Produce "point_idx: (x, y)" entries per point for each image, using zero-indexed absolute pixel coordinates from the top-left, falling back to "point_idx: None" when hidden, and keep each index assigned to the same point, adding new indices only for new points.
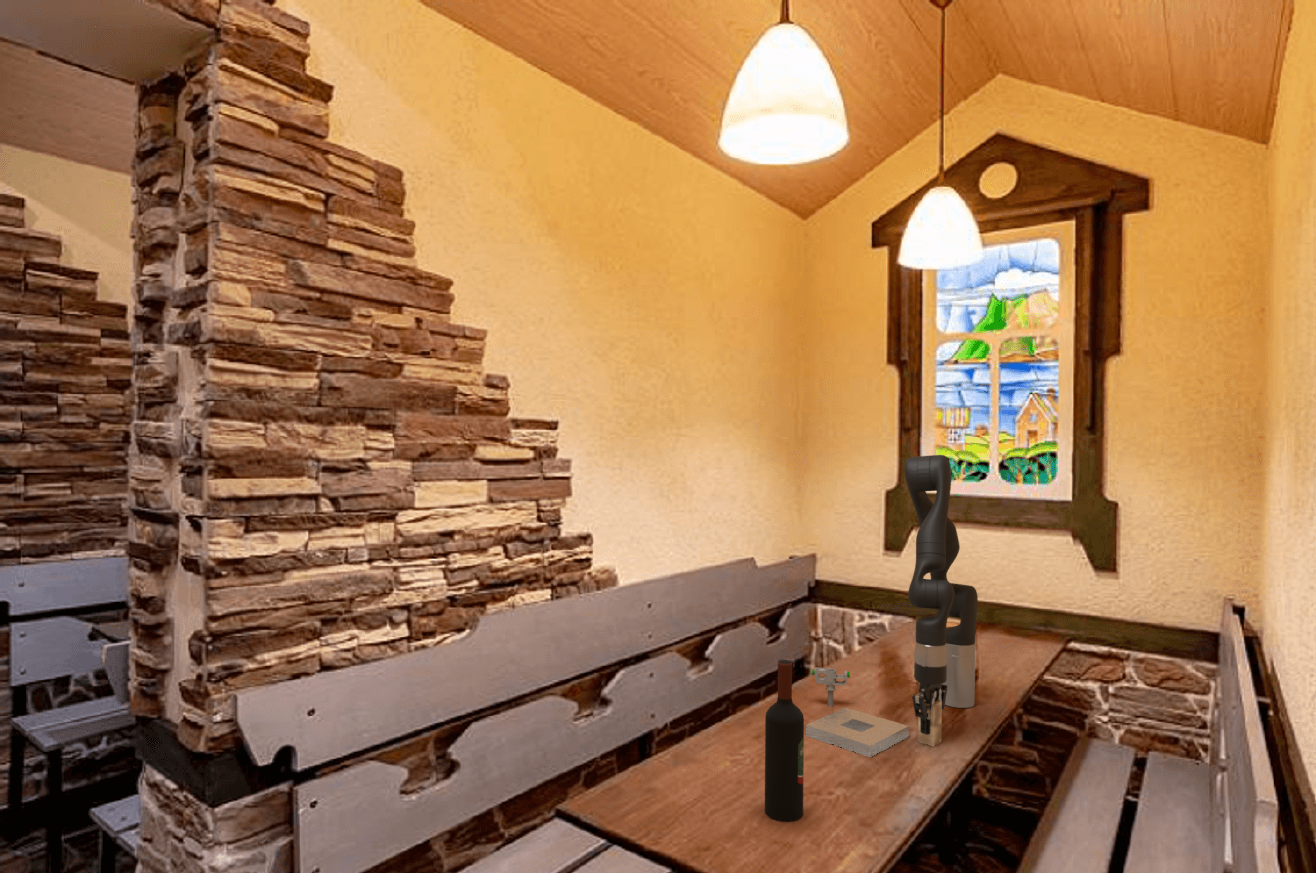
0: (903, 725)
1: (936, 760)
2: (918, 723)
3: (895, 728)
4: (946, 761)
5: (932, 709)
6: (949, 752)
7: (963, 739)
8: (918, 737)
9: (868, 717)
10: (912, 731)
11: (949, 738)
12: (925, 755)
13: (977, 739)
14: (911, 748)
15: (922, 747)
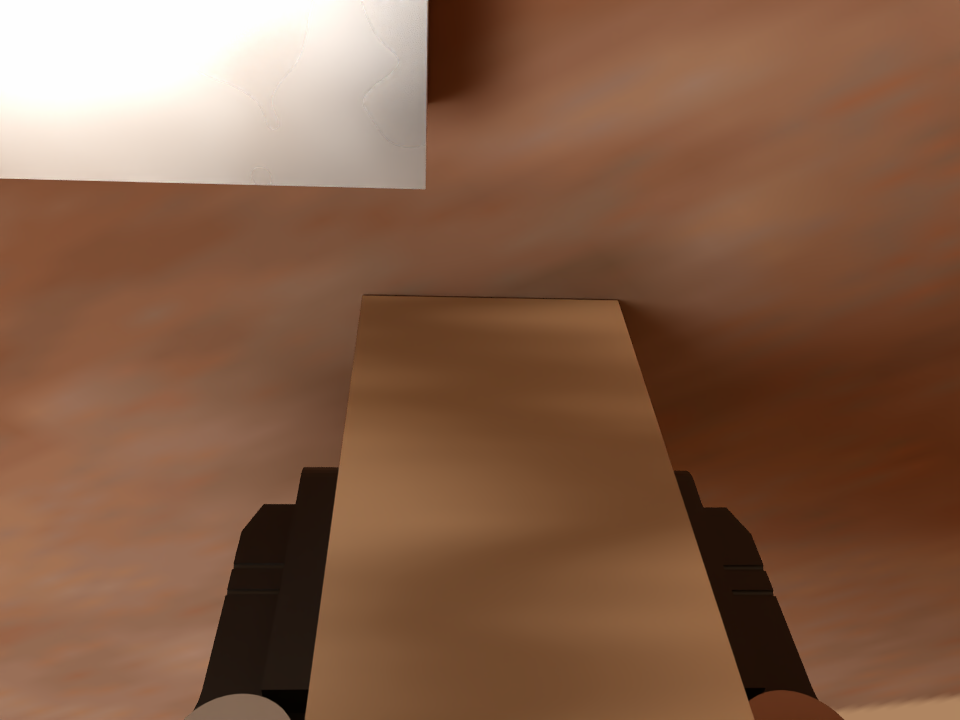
0: (364, 90)
1: (23, 637)
2: (336, 500)
3: (22, 47)
4: (100, 693)
5: None
6: None
7: (846, 595)
8: (358, 337)
9: None
10: (758, 20)
11: (786, 499)
12: (26, 528)
13: (928, 667)
14: (52, 333)
15: (224, 412)
